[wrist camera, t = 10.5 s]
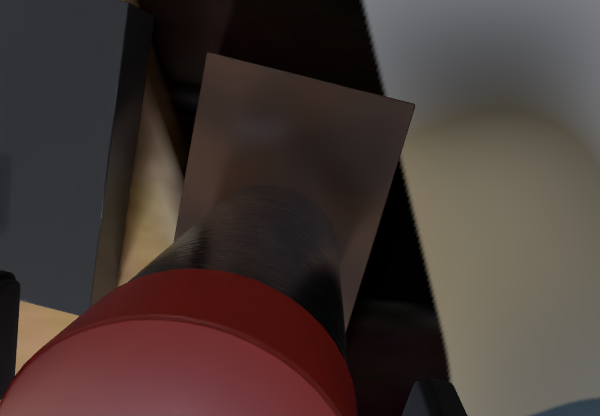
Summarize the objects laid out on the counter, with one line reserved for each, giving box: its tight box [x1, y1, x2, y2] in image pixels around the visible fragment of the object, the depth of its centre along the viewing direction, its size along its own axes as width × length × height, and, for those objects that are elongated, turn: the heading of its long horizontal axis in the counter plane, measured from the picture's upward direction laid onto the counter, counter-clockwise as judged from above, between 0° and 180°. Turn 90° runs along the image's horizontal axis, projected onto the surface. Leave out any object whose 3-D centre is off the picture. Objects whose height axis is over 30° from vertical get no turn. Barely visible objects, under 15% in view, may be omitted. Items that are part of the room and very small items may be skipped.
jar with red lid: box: [0, 185, 358, 416], centre depth 13 cm, size 7×7×12 cm
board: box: [174, 52, 415, 334], centre depth 19 cm, size 16×9×2 cm, turn 166°
